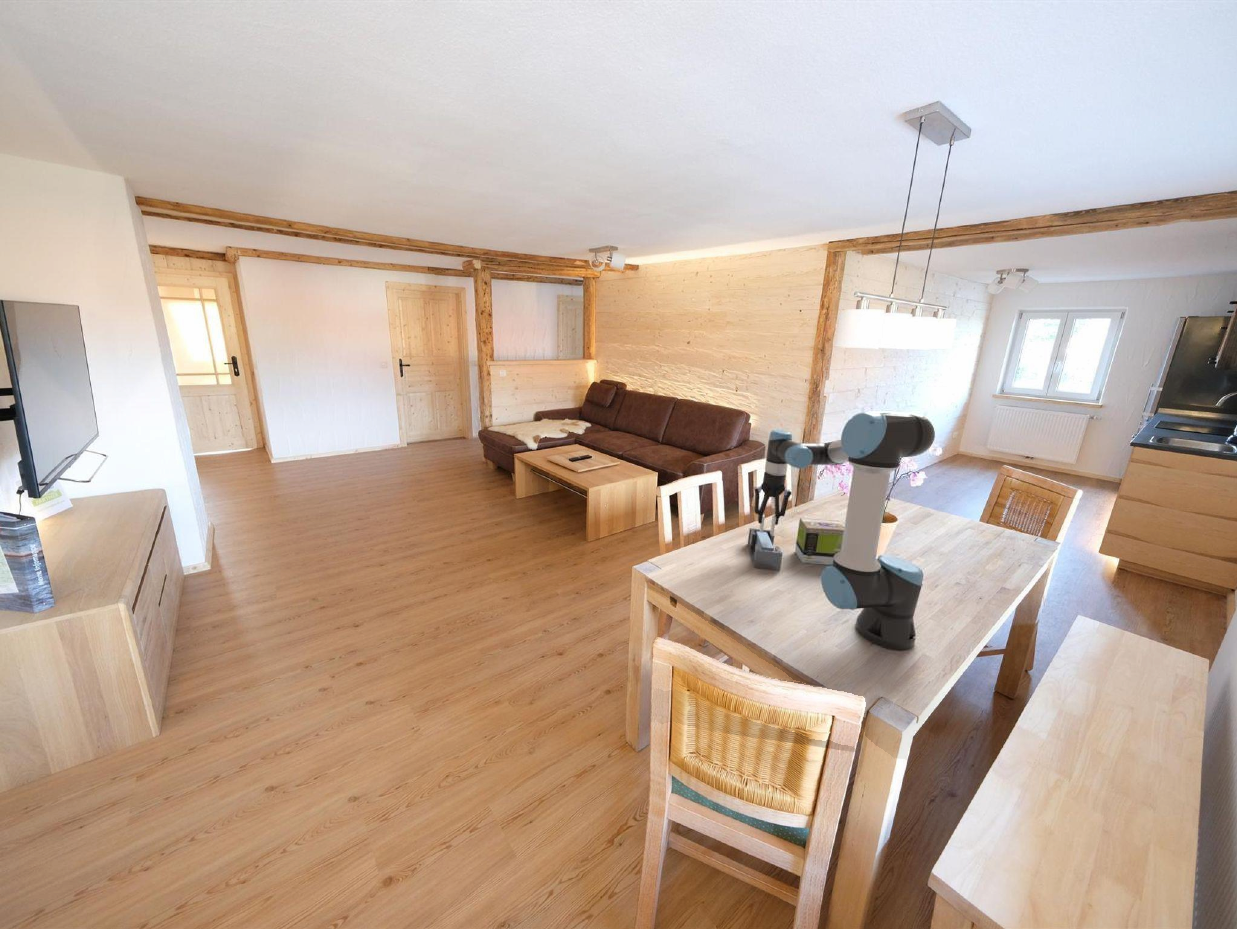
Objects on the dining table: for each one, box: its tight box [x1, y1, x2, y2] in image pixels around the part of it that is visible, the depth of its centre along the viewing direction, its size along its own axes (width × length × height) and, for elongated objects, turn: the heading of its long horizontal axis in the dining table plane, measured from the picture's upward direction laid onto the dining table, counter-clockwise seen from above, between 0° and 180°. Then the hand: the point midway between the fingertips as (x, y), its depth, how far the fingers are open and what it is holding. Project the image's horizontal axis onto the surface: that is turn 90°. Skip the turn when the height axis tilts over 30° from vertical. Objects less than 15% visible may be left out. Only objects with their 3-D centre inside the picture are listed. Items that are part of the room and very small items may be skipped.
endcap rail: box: [747, 527, 783, 572], centre depth 179 cm, size 20×9×7 cm, turn 172°
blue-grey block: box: [755, 531, 775, 551], centre depth 179 cm, size 14×4×6 cm, turn 174°
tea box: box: [794, 517, 845, 566], centre depth 178 cm, size 15×10×15 cm, turn 84°
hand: (766, 531), depth 177 cm, fingers open, 3 cm apart
